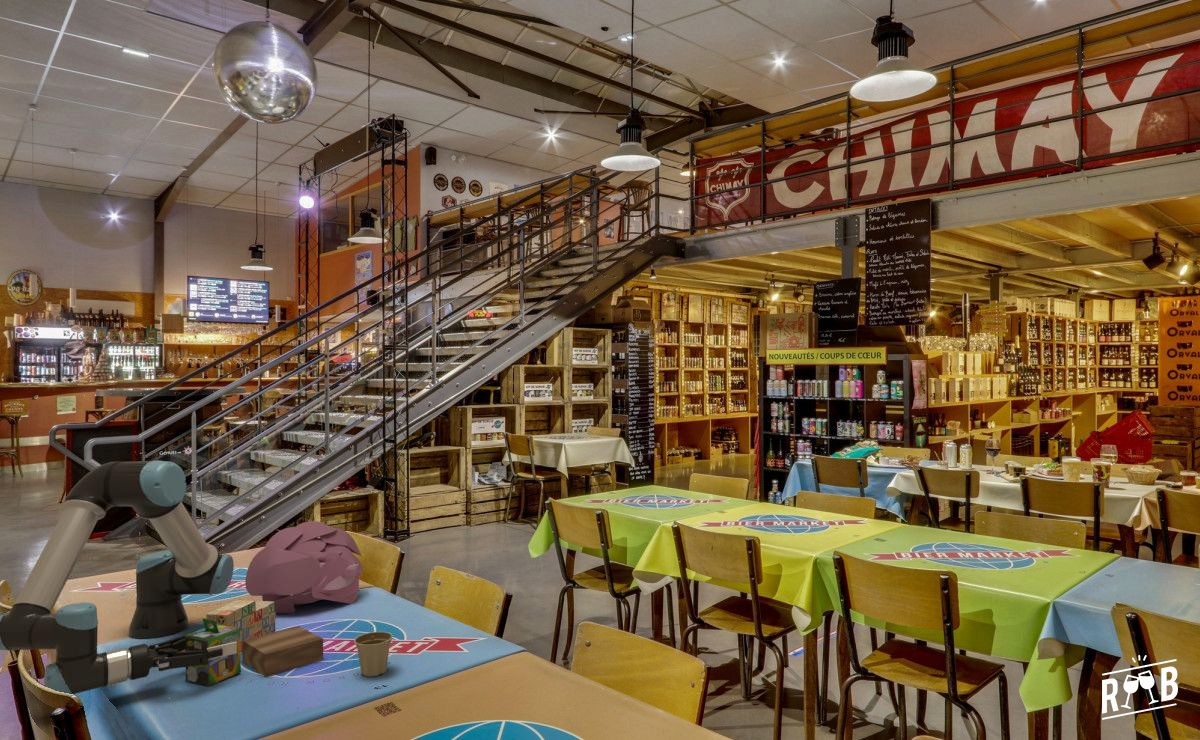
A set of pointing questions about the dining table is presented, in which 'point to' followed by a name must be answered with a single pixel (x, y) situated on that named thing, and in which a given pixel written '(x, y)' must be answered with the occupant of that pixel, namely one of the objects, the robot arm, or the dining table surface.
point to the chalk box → (218, 666)
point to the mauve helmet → (305, 567)
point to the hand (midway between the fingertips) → (229, 641)
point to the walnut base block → (282, 650)
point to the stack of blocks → (246, 617)
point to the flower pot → (373, 652)
